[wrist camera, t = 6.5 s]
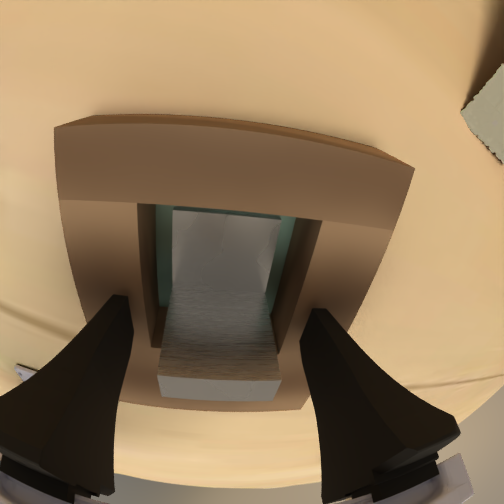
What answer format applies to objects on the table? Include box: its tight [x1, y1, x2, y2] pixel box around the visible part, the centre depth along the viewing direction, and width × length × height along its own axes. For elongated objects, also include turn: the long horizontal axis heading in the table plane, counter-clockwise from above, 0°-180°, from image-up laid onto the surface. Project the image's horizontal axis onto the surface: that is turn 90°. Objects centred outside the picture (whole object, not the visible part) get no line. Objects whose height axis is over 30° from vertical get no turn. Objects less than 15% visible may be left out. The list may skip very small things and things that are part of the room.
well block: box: [54, 114, 415, 412], centre depth 13 cm, size 16×12×3 cm
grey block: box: [157, 206, 282, 401], centre depth 10 cm, size 5×4×6 cm
